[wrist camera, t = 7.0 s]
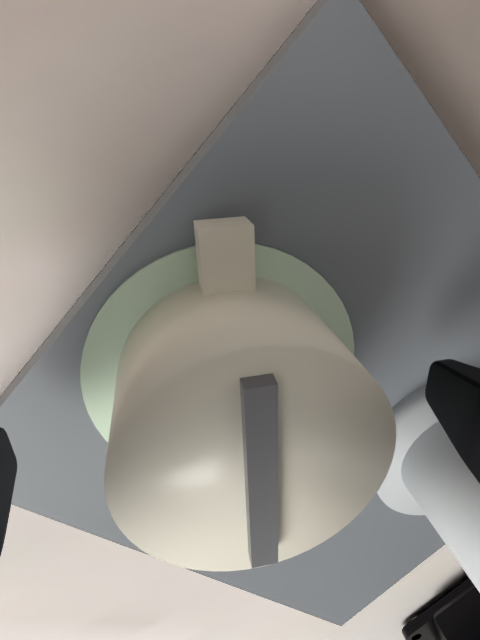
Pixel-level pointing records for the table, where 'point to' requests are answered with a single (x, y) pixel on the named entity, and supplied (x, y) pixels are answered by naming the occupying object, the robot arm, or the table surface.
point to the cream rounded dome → (240, 419)
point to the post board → (309, 283)
